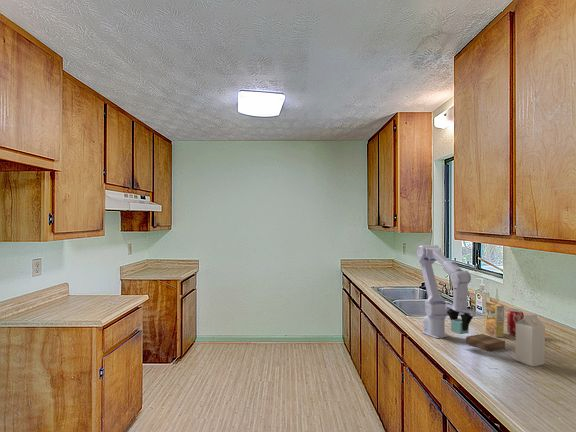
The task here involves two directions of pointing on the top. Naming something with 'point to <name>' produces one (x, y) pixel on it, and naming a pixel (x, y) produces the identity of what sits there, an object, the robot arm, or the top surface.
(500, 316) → the candy box
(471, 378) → the top surface
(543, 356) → the milk carton
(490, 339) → the walnut block
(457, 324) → the teal cube
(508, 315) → the soda can
